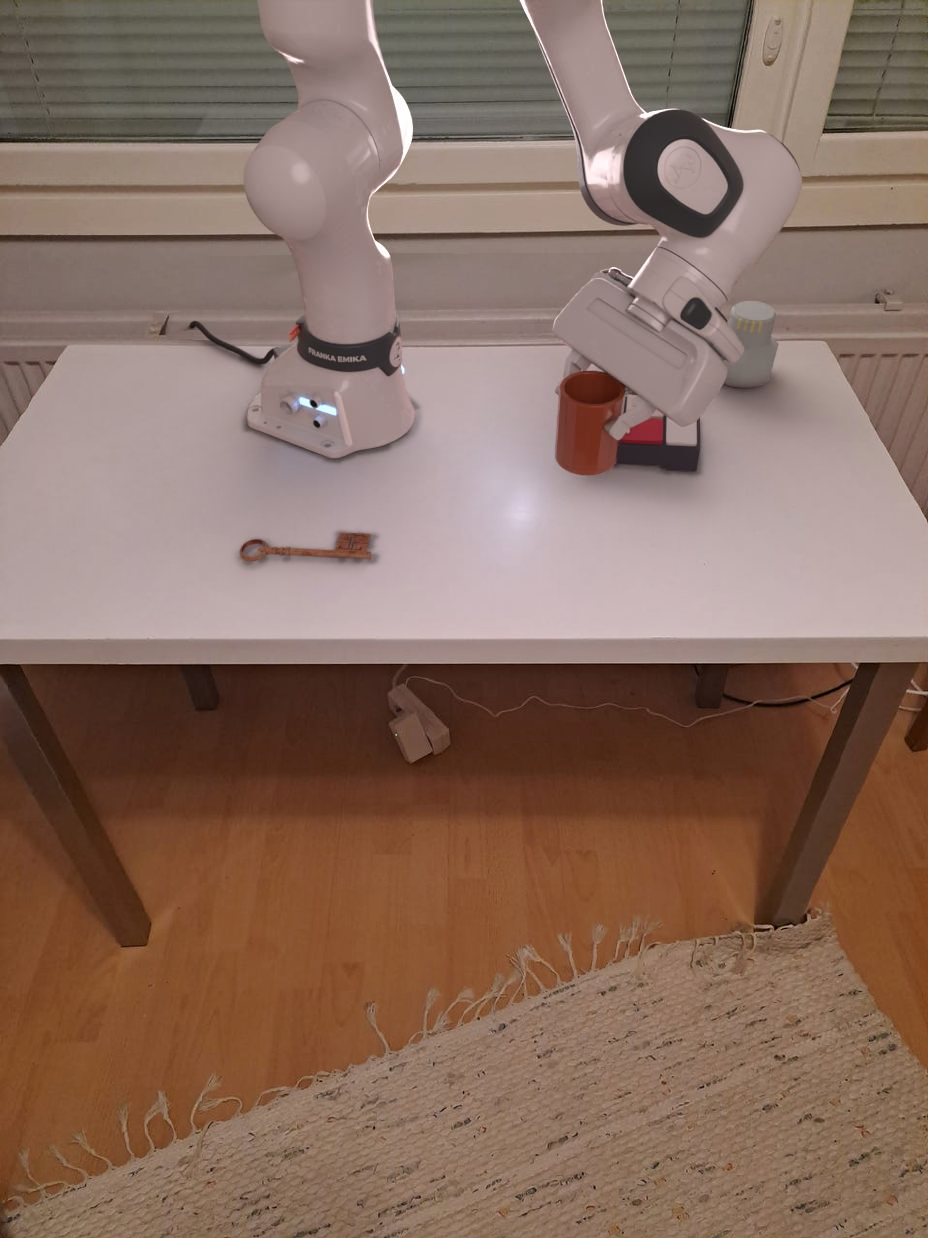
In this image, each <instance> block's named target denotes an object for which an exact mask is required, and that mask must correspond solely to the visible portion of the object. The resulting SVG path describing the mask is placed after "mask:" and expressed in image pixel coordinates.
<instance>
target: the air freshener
mask: <svg viewBox="0 0 928 1238" xmlns="http://www.w3.org/2000/svg"><path fill="white" fill-rule="evenodd" d="M776 317H777V313H776V311H775V309H774V308H773V307H772V306H770V305H769V304H767V303H764V302H761V301H757V300H746V301H745V300H744V301H740V302H738V303H736V304H734V305H733V306H732V307H731V309H730V312H729V318H728V321H727V323H728V325H729V326H730V327H731V329H732V330H733V331H734V333H735V334H736V336H737V337H738V338H739V340H740V341H741V343H742V344H743V346H744V352H743V354H742V355H741V357H740V358H739V359H738V360H737V361H736V362H735V363H732V364H729V363H726V362H725V363H726V365H727V368H728V372H727V377H726V380H725V382H724V384H723V385H727V386H730V387H734V388H740V389H741V388H742V389H743V388H744V389H745V388H746V389H748V388H755V387H760V386H763V385H766V384H767V383H769V381H770V376H771V373H772V371H773V366H774V362H775V358H776V355H777V352H778V348H779V342H778V341H777V340H776V339H775V338H774V337H773V336H772V334H773V330H774V325H775V321H776Z"/></svg>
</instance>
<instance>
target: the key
mask: <svg viewBox="0 0 928 1238" xmlns="http://www.w3.org/2000/svg"><path fill="white" fill-rule="evenodd" d="M370 538H371V533H365V532H364V533H363V532H361V533H360V532H344V531H343V532H341V531H340V532H339V534H338V538H337V542H336V545H335V548H334V549H318V548H301V547H300V548H299V547H298V548H297V547H290V546H287V547H283V546H280V547H277V546H272V547H270V546H268V544H267V542H266V541H265V540H264V539H261V538H253V539H250V540H248V541H246V542H245V543H243V544H242V546H241V547H240V549H239V556H240V558H241V559H242V560H244V561H246V562H256V561H259V560H260V559H262V558H264V557H265V556H266V555H267V554H271V555H280V556H283V555H286V556H288V557H290V556H303V557H304V556H306V557H325V558H344V559H345V558H346V559H364V560H365V559H366V560H371V559H372V551H367V550H368V548H369V543H370ZM252 545H261V546H262V547H258V548H257V549H256V551H257V552H258V553H259V554H257V555H252V556H249V555H245V554H244V551H245V550H246V549H247V548H248V547H250V546H252Z"/></svg>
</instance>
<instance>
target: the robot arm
mask: <svg viewBox="0 0 928 1238" xmlns="http://www.w3.org/2000/svg"><path fill="white" fill-rule="evenodd" d="M256 3H257V8H258V15H259V21H260V28H261V31H262V33H263V36H264V38H265V40H266V42H267V43H268V44H269V46H271V48H272V49H273V50H275V51H276V52H277V53H279V54H280V55H282V56H283V58H284V60H285V62H286V64H287V66H288V68H289V71H290V74H291V76H292V78H293V82H294V84H295V88H296V92H297V99H298V100H297V107H296V108H297V109H296V110H295V111H294V112H293V113H291V114H289V115H288V116H286V117H285V118H283V119H281V120H280V121H279V122H277V123H276V124H274V125H272V126H271V128H269V129H268V130H267V131H266V132H265V134H264V135H263V137H262V138H261V139H260V140H259V141H258V143H257V145H256V146H255V148H254V149H253V151H252V152H251V153H250V155H249V156H248V158H247V160H246V163H245V165H244V170H243V180H242V181H243V189H244V193H245V196H246V200H247V202H248V205H249V207H250V209H251V210H252V212H253V213H254V215H255V217H256V218H257V219H258V221H259V222H260V223H261V224H262V225H263V226H264V227H265V228H266V229H268V230H269V231H270V232H272V233H273V234H274V235H275V236H277V237H280V238H282V239H283V241H284V242H285V244H286V247H287V248H288V250H289V252H290V255H291V256H292V257H291V258H292V260H293V262H294V265H295V268H296V272H297V276H298V282H299V288H300V293H301V300H302V306H303V311H304V314H303V315H302V316H300V317H299V318H298V319H297V320H296V321H295V325H294V326H293V328H291V330H290V331H289V332H288V333H287V334H288V336H289V339H288V340H289V342H290V344H286V345H281V346H276V347H273V348H271V349H270V350H268V352H267V353H266V354H265V356H264V357H255V356H253V355H252V354H249V352H247V351H245V350H243V349H241V348H240V347H237V346H236V345H234V344H233V345H232V344H230V343H228V342H226V341H224V340H222V339H220V338H218V337H216V336H215V335H213V334H212V333H211V332H210V331H209V330H208V328H206V327H205V326H204V324H202V323H201V322H200V321H198V320H192V321H191V322H190V323H189V325H188V328H189V329H194V328H197V329H198V330H199V331H200V333H202V334H203V335H204V336H205V337H206V338H207V339H208V340H209V341H210V342H212V343H214V344H215V345H217V346H219V347H221V348H223V349H226V350H228V351H230V352H232V353H234V354H237V355H239V356H240V357H242V358H243V359H245V360H247V361H248V362H250V363H253V364H256V365H266V364H267V363H269V362H270V361H271V359H272V358H274V360H273V361H272V362H271V363H270V364H269V366H268V367H267V369H266V370H265V372H264V375H263V376H262V380H261V385H260V391H259V392H258V393H257V394H256V395H255V397H254V398H253V399H252V401H251V403H250V405H249V407H248V409H247V413H246V420H247V425H248V427H249V428H251V429H254V430H256V431H257V432H258V431H259V432H261V433H264V434H267V435H269V436H271V437H274V438H277V439H280V440H281V441H285V442H287V443H290V444H292V445H294V446H297V447H301V448H303V449H306V450H307V451H311V452H313V453H316V454H319V455H321V456H324V457H326V458H329V459H339V458H343V457H345V456H348V455H351V454H353V453H355V452H358V451H363V450H364V451H365V450H369V449H375V448H379V447H384V446H385V445H389V444H391V443H393V442H395V441H397V440H398V439H400V438H401V437H403V436H404V435H406V434H407V433H408V432H409V431H410V429H411V428H412V427H413V425H414V423H415V419H416V411H415V407H414V406H413V404H412V402H411V399H410V396H409V392H408V390H407V385H406V381H405V377H404V374H405V368H404V366H403V364H402V361H403V341H402V332H401V323H400V317H399V315H398V314H397V312H396V301H395V299H396V298H395V288H394V286H395V285H394V273H393V270H394V269H393V261H392V257H391V255H390V253H389V252H388V250H387V249H386V248H385V247H384V246H383V245H382V244H381V243H379V242H378V241H376V240H375V238H374V235H373V233H372V229H371V226H370V221H369V212H368V211H369V203H370V200H371V197H372V195H374V193H376V192H377V191H378V190H379V189H380V188H381V187H383V185H385V184H386V183H387V182H388V181H389V180H390V179H391V178H392V177H394V175H395V174H396V173H397V171H398V170H399V168H400V166H401V165H402V163H403V161H404V159H405V157H406V155H407V153H408V152H409V151H408V150H409V148H410V146H411V143H412V140H413V134H414V133H413V131H414V130H413V118H412V114H411V111H410V109H409V106H408V104H407V102H406V100H405V99H404V96H402V95H401V93H400V92H399V90H397V88H395V87H394V86H393V85H392V82H391V79H390V76H389V73H388V70H387V67H386V63H385V59H384V57H383V56H384V55H383V52H382V49H381V46H380V40H379V37H378V31H377V27H376V26H377V25H376V19H375V12H374V11H375V10H374V1H373V0H256ZM519 3H520V4H521V6H522V8H523V11H524V12H525V14H526V16H527V19H528V20H529V22H530V24H531V27H532V29H533V32H534V35H535V37H536V40H537V42H538V46H539V48H540V50H541V53H542V56H543V58H544V61H545V63H546V66H547V68H548V70H549V73H550V75H551V78H552V80H553V82H554V86H555V88H556V90H557V93H558V95H559V97H560V98H559V99H560V100H561V103H562V106H563V108H564V110H565V113H566V115H567V118H568V120H569V123H570V125H571V128H572V132H573V136H574V142H575V149H576V169H577V181H578V187H579V190H580V193H581V197H582V198H583V200H584V202H585V204H586V205H587V207H588V209H589V210H590V212H592V213H593V214H594V215H595V216H597V218H599V219H600V220H602V221H604V222H606V223H608V224H611V225H614V226H621V227H628V226H635V225H645V226H646V225H647V226H648V225H649V226H651V227H652V228H653V229H654V230H655V231H657V233H658V234H659V238H660V239H659V242H658V243H657V245H656V247H655V248H654V249H653V251H651V253H650V255H649V256H648V257H647V259H646V260H645V262H643V264H642V266H641V267H640V269H639V270H638V271H637V272H636V274H635V276H632V275H629V274H626V273H624V271H622V270H621V269H620V268H617V267H613V266H612V267H610V268H605V269H602V270H598V271H597V272H595V274H593V276H592V277H591V279H590V280H589V281H588V282H587V283H586V284H585V285H584V286H582V287H581V288H580V290H578V292H577V293H576V294H575V295H574V296H573V297H572V298H571V299H570V300H569V301H568V302H567V304H566V305H565V306H564V307H563V309H562V310H561V311H560V313H559V314H558V315H557V316H556V318H555V319H554V321H553V325H552V335H553V336H554V337H555V338H557V340H559V341H560V342H561V343H563V344H564V345H565V346H567V347H568V349H569V348H570V349H571V352H570V353H569V354H568V356H567V357H566V360H565V366H564V370H563V376H562V377H563V378H562V379H561V381H560V382H559V383H558V384H557V386H556V387H555V389H554V393H555V394H556V395H557V396H559V386H560V384H561V382H562V380H563V379H564V378H566V377H567V376H569V375H570V374H573V373H576V372H580V371H588V369H589V367H590V366H591V365H593V366H595V367H596V368H597V369H598V370H601V372H606V373H608V374H610V375H611V376H612V377H614V378H615V379H617V380H618V381H619V382H621V383H622V384H624V385H625V389H626V390H628V391H629V390H630V391H631V392H633V393H634V394H636V395H637V396H636V397H635V399H634V400H633V401H632V403H631V405H632V406H633V407H634V408H632V409H631V410H629V411H627V412H626V413H624V414H622V415H621V416H619V417H616V416H615V415H613V414H612V415H611V417H610V418H609V419H608V422H607V423H605V425H604V426H603V430H605V431H606V432H607V433H608V434H610V435H611V436H612V437H614V438H615V439H616V440H620V439H621V438H622V437H623V436H624V434H625V433H626V432H627V431H628V429H629V428H630V427H633V426H635V425H637V424H639V423H641V422H643V421H645V420H648V419H649V418H650V417H651V415H652V414H653V413H654V412H655V410H656V409H657V410H658V411H660V412H661V413H662V414H664V415H665V416H667V417H668V418H669V419H671V420H672V421H674V422H675V423H676V424H678V425H679V426H681V427H685V426H687V425H690V424H692V423H695V422H696V421H697V420H698V419H699V418H700V419H701V417H702V415H704V413H705V412H706V410H707V409H708V408H709V406H710V405H711V404H712V403H713V401H714V399H715V398H716V396H717V395H718V394H719V392H720V390H721V388H723V386H724V385H725V384H724V382H725V380H726V377H727V372H728V368H727V365H726V363H729V364H732V363H735V362H736V361H737V360H738V359H739V358H740V357H741V355H742V354H743V352H744V346H743V344H742V343H741V341H740V340H739V338H738V337H737V336H736V334H735V333H734V331H733V330H732V329H731V327H730V326H729V325H728V319H727V318H726V316H725V315H724V314H723V312H722V311H721V310H722V309H723V308H724V307H725V306H726V304H727V303H728V301H729V300H730V299H731V297H732V294H733V291H734V290H735V287H736V285H737V284H738V282H739V281H740V279H741V278H742V277H743V276H744V275H745V274H746V273H747V272H748V271H749V270H751V269H752V268H753V267H754V266H756V265H757V264H758V263H759V261H760V260H761V258H763V256H764V254H765V253H766V252H767V251H768V249H769V248H770V246H771V245H772V243H773V242H774V240H775V239H776V238H777V236H778V235H779V233H780V232H781V231H782V229H783V227H784V226H785V224H786V223H787V221H788V220H789V218H790V216H791V214H792V213H793V211H794V209H795V207H796V205H797V203H798V201H799V198H800V196H801V193H802V188H803V177H802V173H801V168H800V166H799V163H798V161H797V159H796V158H795V156H794V155H793V153H792V152H791V151H790V149H789V148H788V147H787V145H785V144H784V142H782V141H780V140H779V139H778V138H776V137H775V136H774V135H773V134H771V133H769V132H768V131H765V130H762V129H752V130H741V129H735V128H730V127H725V126H721V125H719V124H716V123H713V122H711V121H708V120H707V119H705V118H702V117H701V116H699V114H696V113H695V112H692V111H689V110H686V109H680V108H666V109H661V110H655V111H649V112H646V111H645V110H644V109H643V108H642V107H641V106H640V105H639V103H637V101H636V100H635V97H634V96H633V94H632V91H631V88H630V86H629V83H628V80H627V78H626V75H625V72H624V69H623V67H622V64H621V61H620V58H619V56H618V53H617V49H616V47H615V44H614V41H613V38H612V35H611V33H610V30H609V27H608V25H607V22H606V18H605V13H604V7H603V0H519ZM296 338H297V342H294V343H291V342H293V341H294V340H295V339H296ZM725 362H726V363H725ZM630 391H629V392H630ZM631 392H630V393H631Z"/></svg>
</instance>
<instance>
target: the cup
mask: <svg viewBox="0 0 928 1238" xmlns="http://www.w3.org/2000/svg"><path fill="white" fill-rule="evenodd" d="M563 378H564V377H563ZM563 378H562V379H563ZM562 379H561V381H562V382H561V381H560V382H561V384H560V386H559V395H558V398H557V399H558V400H557V414H556V415H557V416H556V429H555V444H554V458H555V461H556V463H557V465H558V466H560V467H561V469H563V470H565V471H566V472H568V473H570V474H574V475H578V476H585V477H587V476H589V477H591V476H598V475H602V474H605V473H607V472H610V470H612V469H613V468H614V466H615V465H616V464H615V463H616V461H617V456H618V450H619V442H620V440H616V439H615V438H614V437H612V436H611V435H610V434H608V433H607V432H606V431H605V430H603V426H604V425H605V423H607V422H608V419H609V418H610V417H611V415H612V414H613V415H615V416H616V417H619V416H621V415H622V414H623V412H624V404H625V397H627V396H626V395H627V388H626V387H625V385H624V384H622V383H621V382H619V381H618V380H617V379H615V378H614V377H612V376H611V375H610V374H608V373H606V372H603V371H599V370H586V371H583V370H581V371H580V372H576V373H573V374H570V375H569V376H567V377H566V378H564V379H563V380H562Z"/></svg>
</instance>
